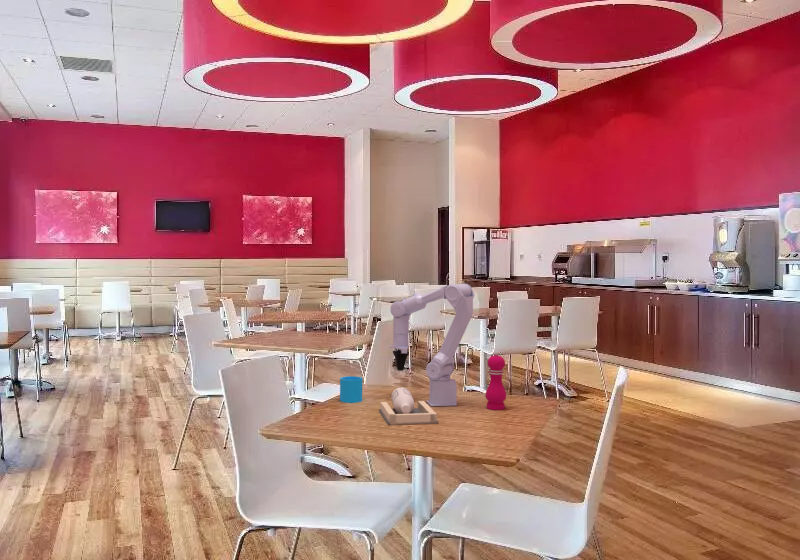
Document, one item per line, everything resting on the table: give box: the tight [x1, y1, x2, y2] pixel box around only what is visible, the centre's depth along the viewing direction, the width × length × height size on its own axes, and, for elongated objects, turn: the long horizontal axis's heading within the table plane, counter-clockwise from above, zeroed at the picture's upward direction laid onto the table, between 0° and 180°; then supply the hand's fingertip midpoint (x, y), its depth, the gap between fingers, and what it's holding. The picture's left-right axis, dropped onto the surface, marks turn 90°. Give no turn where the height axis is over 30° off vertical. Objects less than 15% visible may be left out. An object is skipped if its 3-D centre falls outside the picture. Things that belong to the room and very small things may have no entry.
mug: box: [339, 375, 363, 404], centre depth 250 cm, size 12×8×8 cm
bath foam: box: [391, 386, 415, 414], centre depth 226 cm, size 7×7×20 cm
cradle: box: [378, 400, 439, 426], centre depth 224 cm, size 16×20×3 cm
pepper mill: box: [484, 350, 507, 411], centre depth 238 cm, size 7×7×20 cm
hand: (400, 370), depth 253 cm, fingers closed
